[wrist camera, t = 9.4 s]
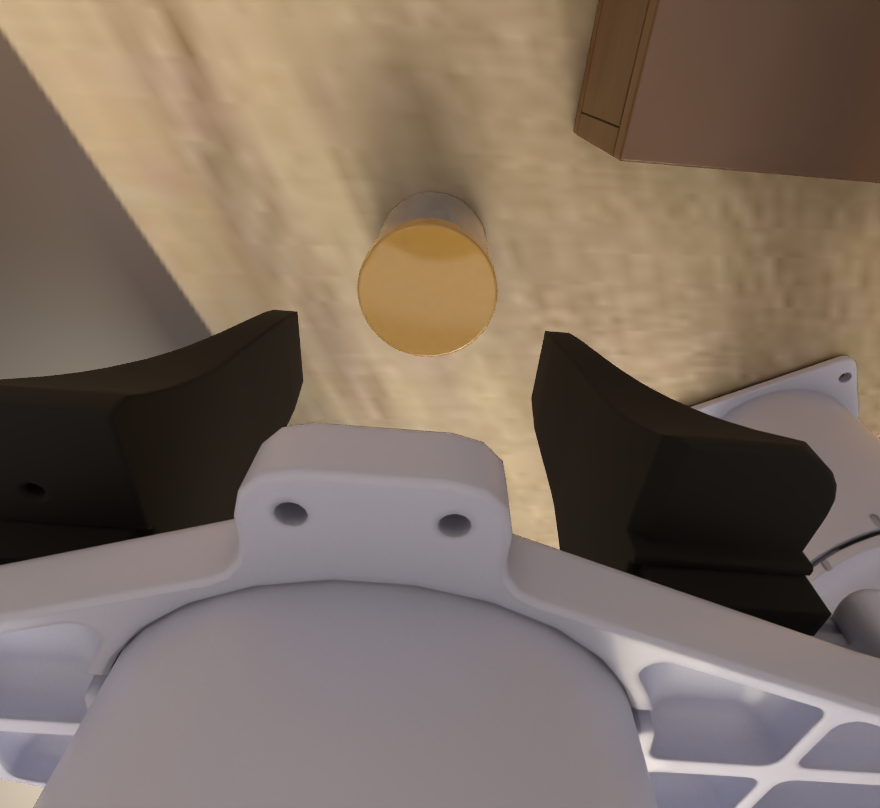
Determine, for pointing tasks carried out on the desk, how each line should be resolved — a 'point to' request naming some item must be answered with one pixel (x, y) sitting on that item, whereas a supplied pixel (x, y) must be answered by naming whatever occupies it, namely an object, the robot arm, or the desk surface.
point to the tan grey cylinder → (428, 277)
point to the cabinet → (737, 85)
